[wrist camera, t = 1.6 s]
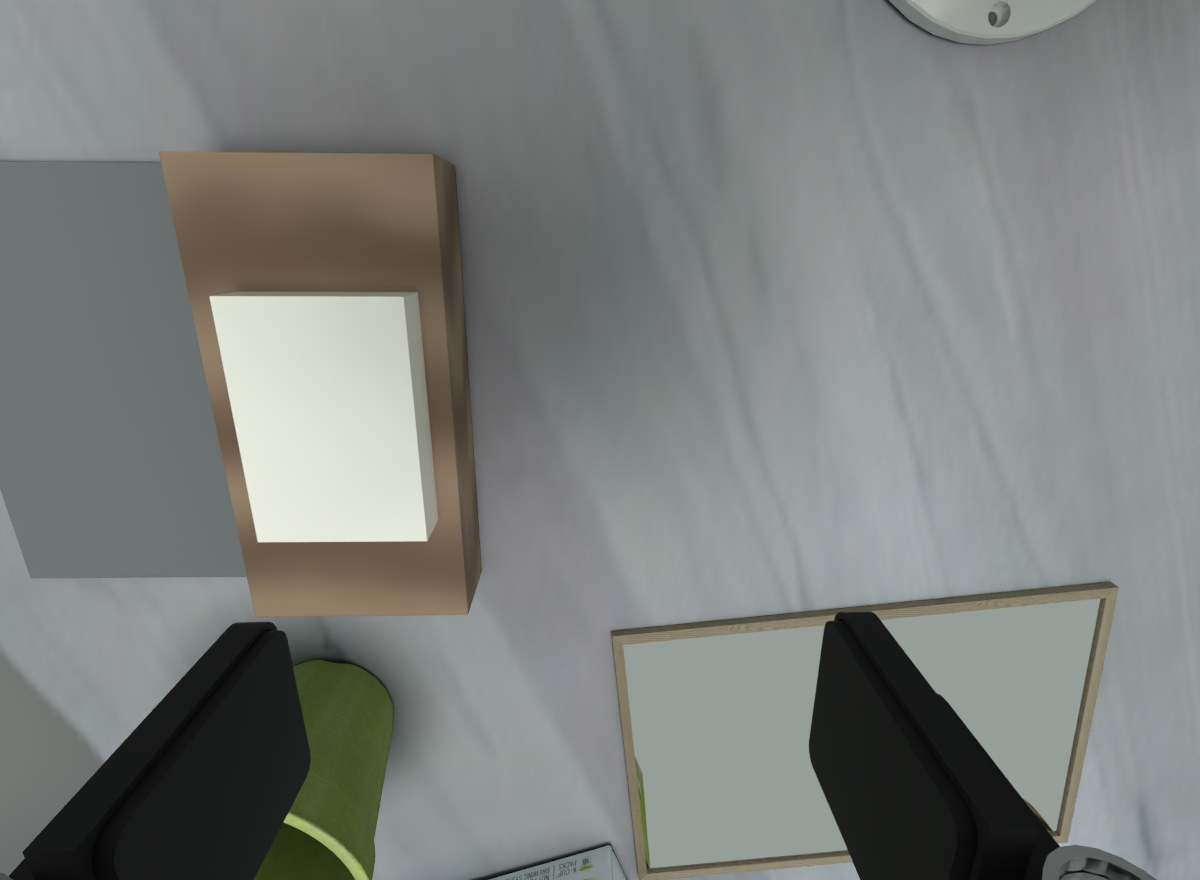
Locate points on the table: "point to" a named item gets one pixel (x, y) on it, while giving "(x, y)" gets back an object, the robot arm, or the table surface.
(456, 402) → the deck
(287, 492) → the cream white slab
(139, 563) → the mat
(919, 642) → the picture frame
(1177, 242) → the table surface
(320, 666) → the plant pot
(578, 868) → the tea box
